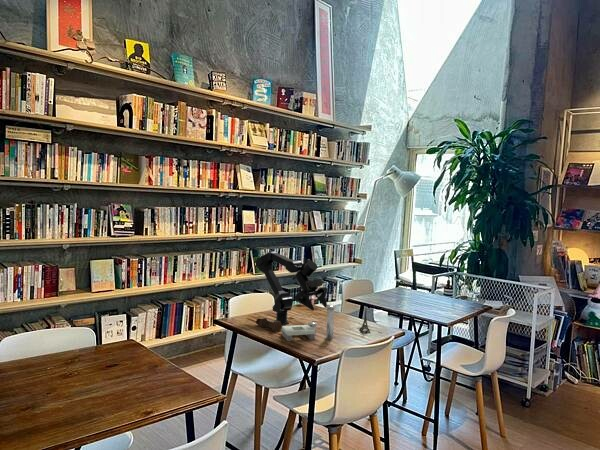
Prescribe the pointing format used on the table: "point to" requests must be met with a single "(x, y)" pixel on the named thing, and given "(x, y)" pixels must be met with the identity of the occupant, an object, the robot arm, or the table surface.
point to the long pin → (330, 321)
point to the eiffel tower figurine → (365, 327)
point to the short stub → (313, 325)
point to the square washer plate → (297, 331)
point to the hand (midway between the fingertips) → (320, 308)
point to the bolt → (269, 324)
